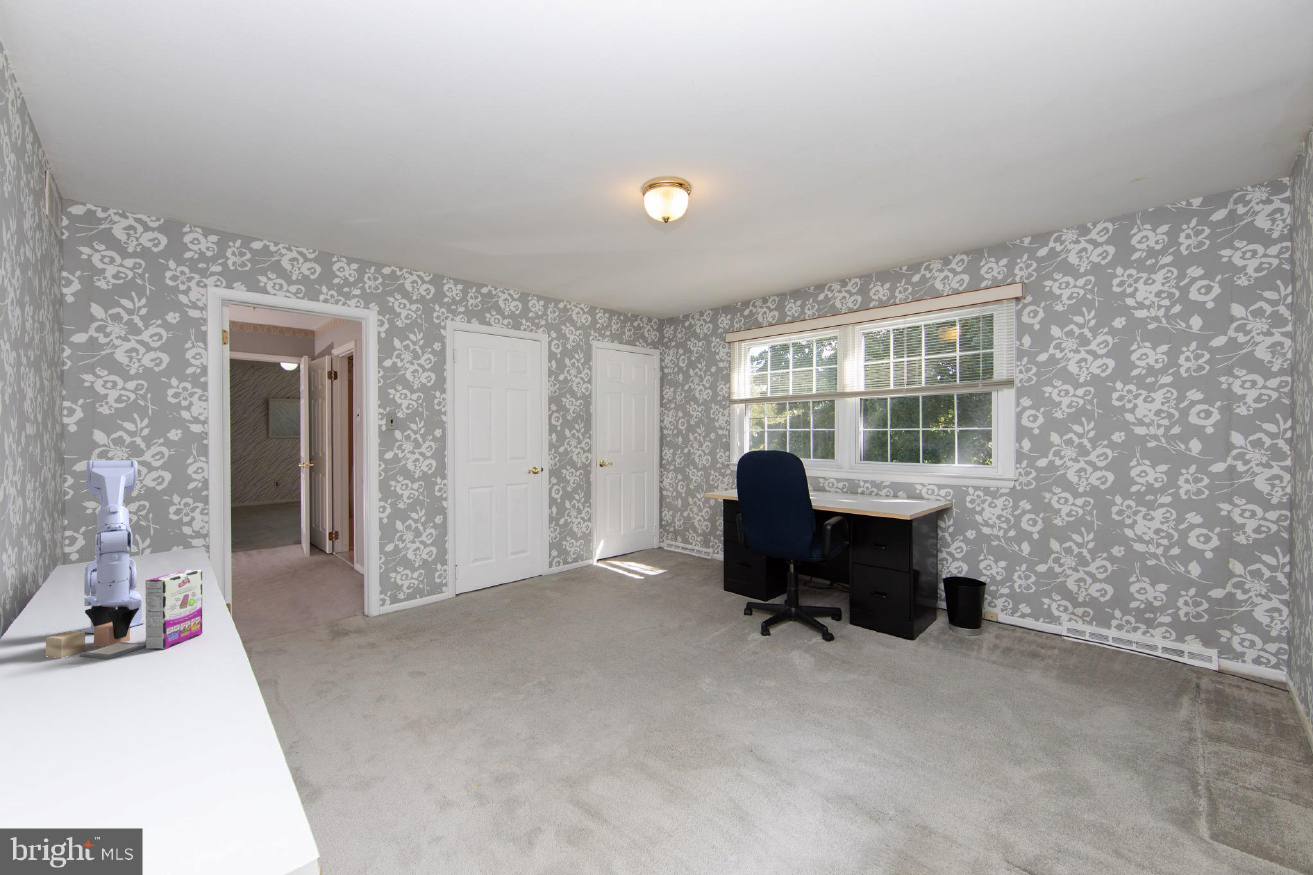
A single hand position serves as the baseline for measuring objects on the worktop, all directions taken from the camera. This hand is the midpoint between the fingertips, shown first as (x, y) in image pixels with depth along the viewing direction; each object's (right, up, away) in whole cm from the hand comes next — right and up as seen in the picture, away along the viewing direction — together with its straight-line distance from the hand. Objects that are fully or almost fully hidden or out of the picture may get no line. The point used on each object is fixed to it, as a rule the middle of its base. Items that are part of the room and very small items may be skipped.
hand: (111, 636), depth 138 cm
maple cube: (-3, -1, -7) cm, 8 cm away
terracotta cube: (0, -2, 0) cm, 2 cm away
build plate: (+6, -1, -6) cm, 8 cm away
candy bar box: (+14, -2, +1) cm, 14 cm away
